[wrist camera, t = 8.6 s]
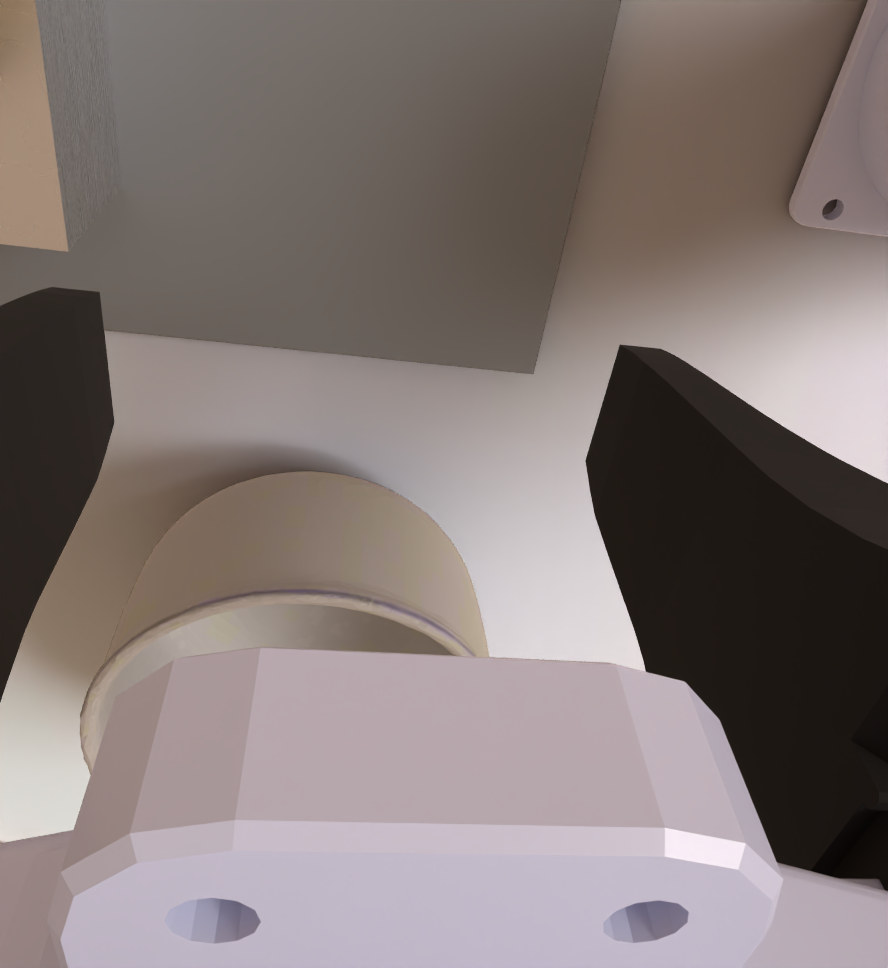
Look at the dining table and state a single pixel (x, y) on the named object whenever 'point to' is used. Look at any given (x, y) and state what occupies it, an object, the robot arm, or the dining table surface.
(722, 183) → the dining table surface
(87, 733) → the teacup
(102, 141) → the block
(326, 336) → the mat
